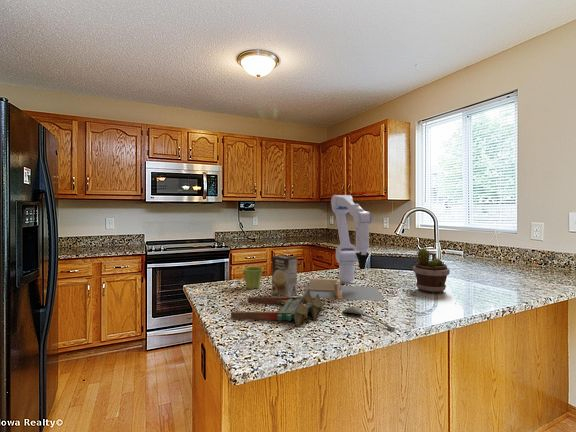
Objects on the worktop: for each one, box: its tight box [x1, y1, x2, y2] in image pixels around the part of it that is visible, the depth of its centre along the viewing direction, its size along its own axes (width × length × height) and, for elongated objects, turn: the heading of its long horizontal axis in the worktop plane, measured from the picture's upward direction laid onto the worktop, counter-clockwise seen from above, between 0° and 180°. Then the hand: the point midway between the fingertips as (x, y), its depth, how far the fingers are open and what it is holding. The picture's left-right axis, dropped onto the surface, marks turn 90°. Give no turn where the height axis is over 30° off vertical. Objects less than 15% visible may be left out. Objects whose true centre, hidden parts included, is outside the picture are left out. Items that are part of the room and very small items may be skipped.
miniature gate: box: [230, 290, 326, 329], centre depth 111 cm, size 27×6×30 cm
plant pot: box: [242, 266, 264, 290], centre depth 145 cm, size 9×9×9 cm
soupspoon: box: [341, 306, 396, 332], centre depth 103 cm, size 22×3×7 cm
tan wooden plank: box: [334, 278, 340, 297], centre depth 132 cm, size 12×1×5 cm, turn 165°
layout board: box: [302, 276, 386, 302], centre depth 135 cm, size 22×32×6 cm
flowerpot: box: [412, 246, 451, 295], centre depth 140 cm, size 14×15×20 cm
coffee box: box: [271, 254, 298, 297], centre depth 133 cm, size 9×6×16 cm
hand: (362, 268), depth 141 cm, fingers closed
